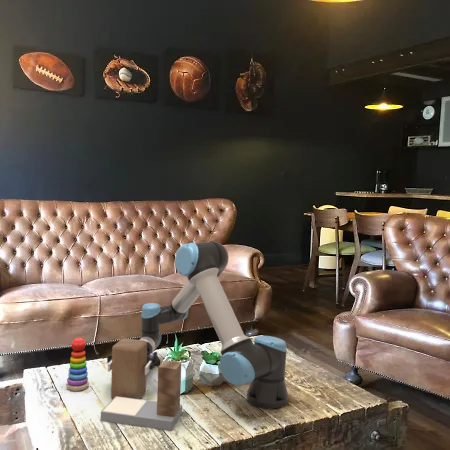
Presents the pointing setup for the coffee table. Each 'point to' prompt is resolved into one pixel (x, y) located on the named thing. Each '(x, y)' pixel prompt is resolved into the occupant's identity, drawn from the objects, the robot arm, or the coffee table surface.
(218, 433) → the coffee table surface
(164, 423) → the foundation
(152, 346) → the robot arm
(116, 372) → the block
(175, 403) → the walnut pillar
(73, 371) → the stacking toy
